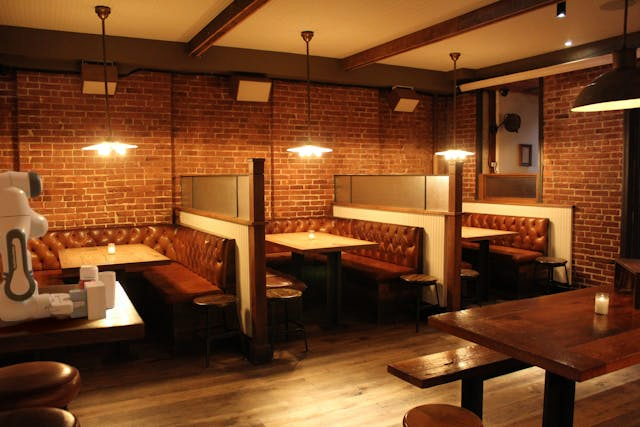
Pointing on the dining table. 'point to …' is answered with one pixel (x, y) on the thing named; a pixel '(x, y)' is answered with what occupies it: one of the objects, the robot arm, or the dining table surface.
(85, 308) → the charger
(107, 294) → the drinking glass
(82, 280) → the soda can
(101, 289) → the socket block
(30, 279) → the robot arm
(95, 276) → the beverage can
